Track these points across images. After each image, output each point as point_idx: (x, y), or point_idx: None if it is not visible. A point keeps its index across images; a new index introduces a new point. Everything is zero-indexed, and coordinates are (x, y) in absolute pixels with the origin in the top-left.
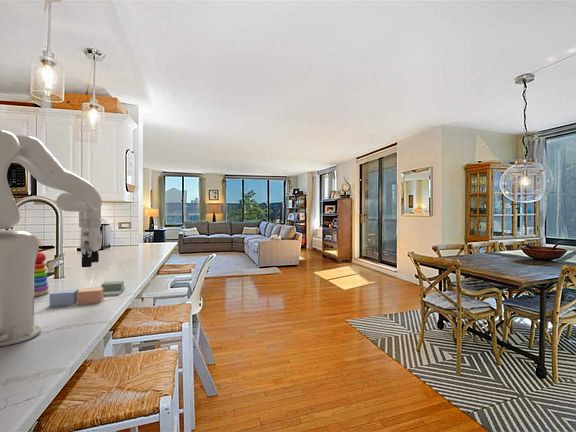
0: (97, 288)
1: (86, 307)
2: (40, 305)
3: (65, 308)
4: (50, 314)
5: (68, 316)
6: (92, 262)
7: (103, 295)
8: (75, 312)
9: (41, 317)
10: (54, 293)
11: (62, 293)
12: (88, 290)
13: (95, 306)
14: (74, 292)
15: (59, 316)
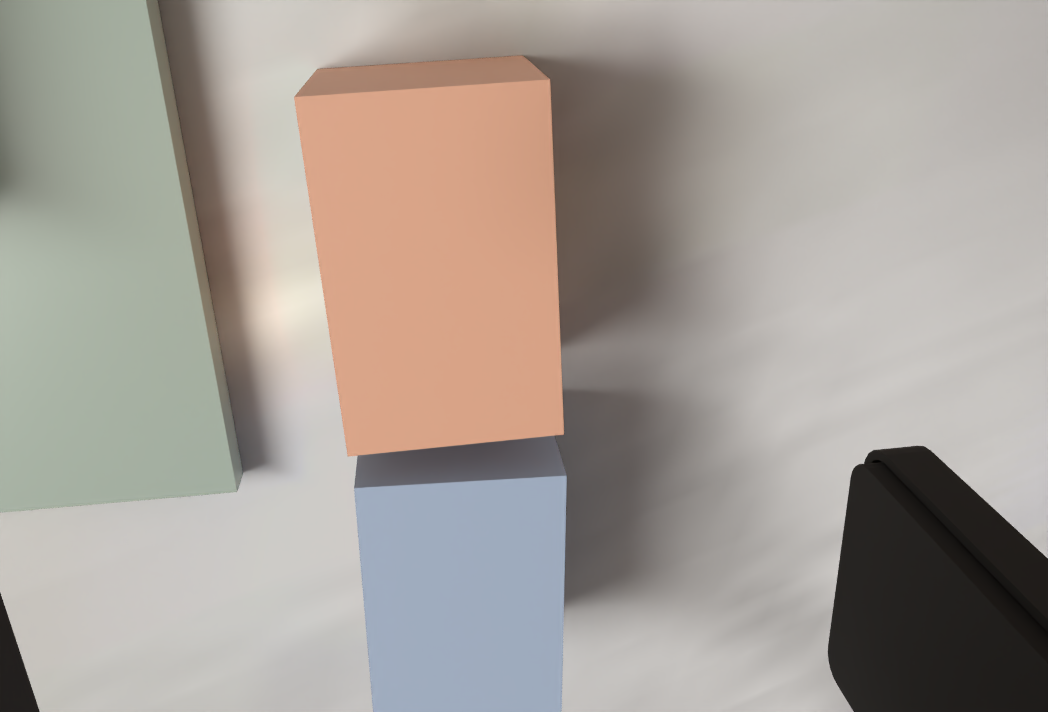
0: (362, 191)
1: (735, 174)
2: None
3: (688, 414)
4: None
5: (1033, 256)
6: (24, 693)
7: (174, 112)
8: (908, 235)
9: None
10: (553, 686)
11: (563, 599)
12: (491, 300)
13: (730, 60)
14: (533, 473)
15: (985, 352)
